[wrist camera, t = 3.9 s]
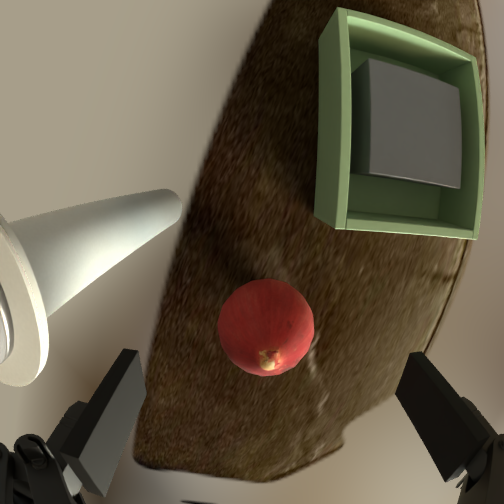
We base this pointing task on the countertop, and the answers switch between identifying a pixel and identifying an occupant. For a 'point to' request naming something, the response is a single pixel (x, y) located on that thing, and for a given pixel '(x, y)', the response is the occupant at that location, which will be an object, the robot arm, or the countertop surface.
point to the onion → (266, 327)
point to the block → (404, 126)
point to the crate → (339, 133)
